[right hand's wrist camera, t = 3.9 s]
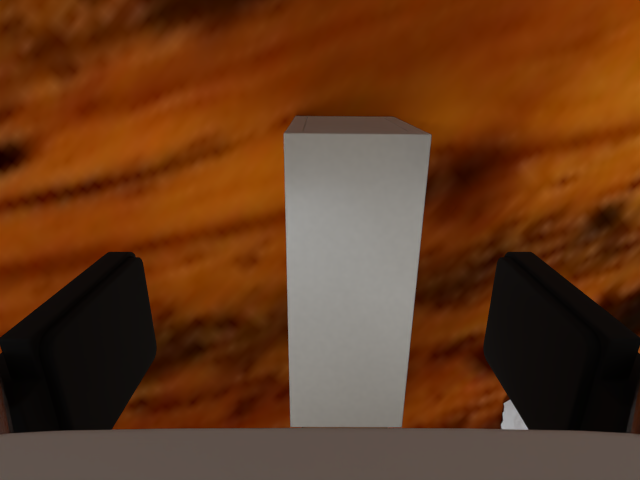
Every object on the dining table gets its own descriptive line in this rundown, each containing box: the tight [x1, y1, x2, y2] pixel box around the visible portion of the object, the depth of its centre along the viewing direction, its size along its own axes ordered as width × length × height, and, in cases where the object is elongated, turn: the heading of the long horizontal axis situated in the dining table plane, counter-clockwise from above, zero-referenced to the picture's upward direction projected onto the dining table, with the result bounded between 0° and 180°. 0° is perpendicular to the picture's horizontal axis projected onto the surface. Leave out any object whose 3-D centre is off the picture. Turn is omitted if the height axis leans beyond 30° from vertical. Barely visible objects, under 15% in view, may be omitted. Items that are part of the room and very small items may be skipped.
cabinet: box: [284, 116, 432, 427], centre depth 25 cm, size 16×6×9 cm, turn 0°
